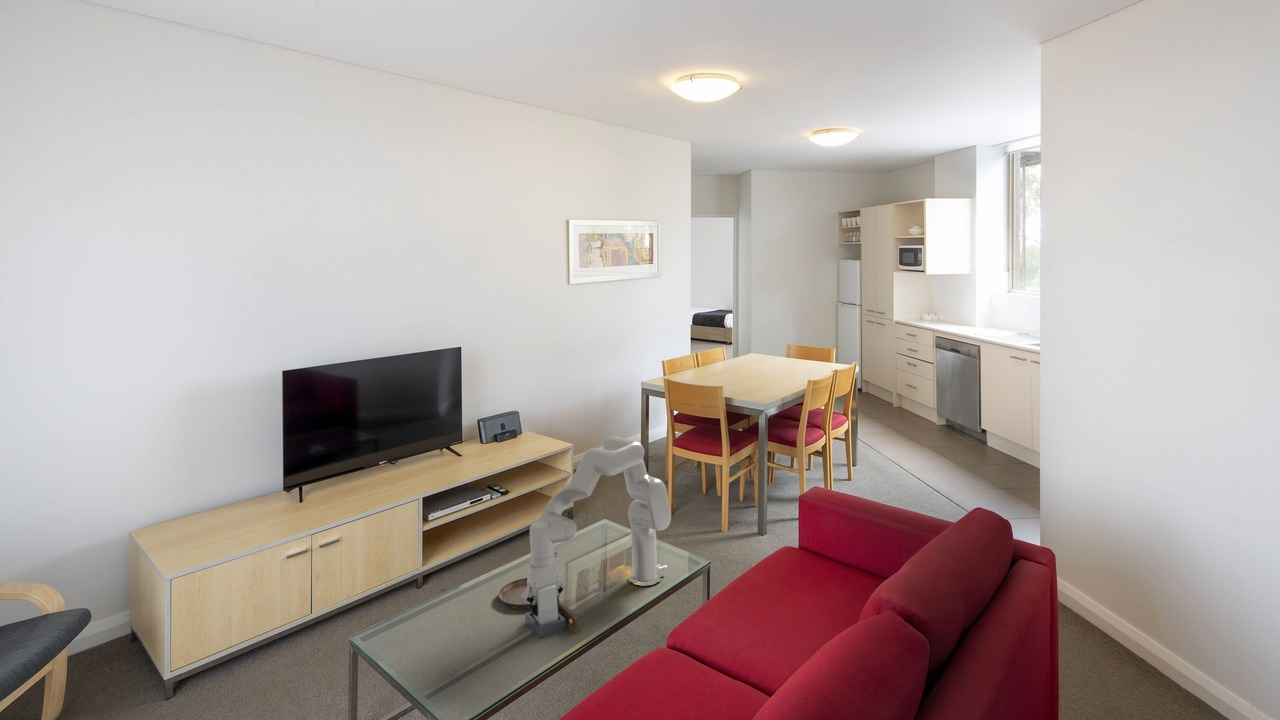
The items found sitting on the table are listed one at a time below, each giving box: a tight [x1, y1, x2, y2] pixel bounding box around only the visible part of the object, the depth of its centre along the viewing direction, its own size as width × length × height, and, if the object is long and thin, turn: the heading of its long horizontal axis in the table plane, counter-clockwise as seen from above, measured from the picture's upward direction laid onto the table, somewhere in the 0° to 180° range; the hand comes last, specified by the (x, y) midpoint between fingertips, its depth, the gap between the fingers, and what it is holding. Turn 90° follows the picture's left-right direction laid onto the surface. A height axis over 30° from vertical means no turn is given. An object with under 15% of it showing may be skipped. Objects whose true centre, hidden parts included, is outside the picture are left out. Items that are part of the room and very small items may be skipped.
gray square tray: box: [524, 611, 567, 639], centre depth 213 cm, size 10×12×4 cm
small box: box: [533, 585, 558, 626], centre depth 212 cm, size 8×6×13 cm
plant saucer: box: [498, 577, 532, 610], centre depth 234 cm, size 21×21×3 cm
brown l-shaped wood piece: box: [558, 599, 581, 634], centre depth 216 cm, size 3×20×10 cm, turn 33°
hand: (545, 610), depth 213 cm, fingers closed on small box, 6 cm apart
